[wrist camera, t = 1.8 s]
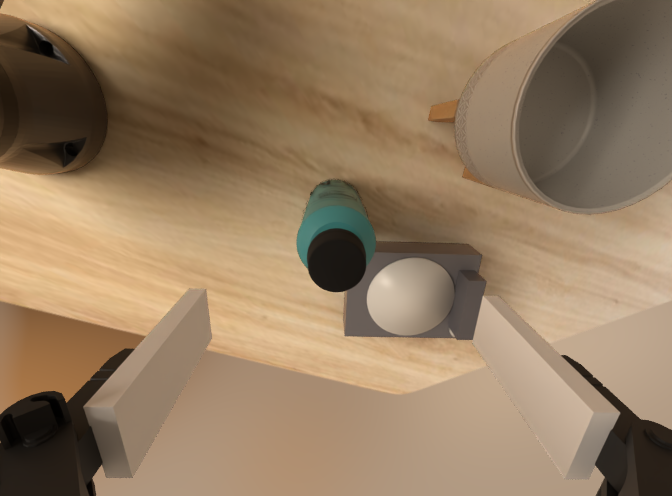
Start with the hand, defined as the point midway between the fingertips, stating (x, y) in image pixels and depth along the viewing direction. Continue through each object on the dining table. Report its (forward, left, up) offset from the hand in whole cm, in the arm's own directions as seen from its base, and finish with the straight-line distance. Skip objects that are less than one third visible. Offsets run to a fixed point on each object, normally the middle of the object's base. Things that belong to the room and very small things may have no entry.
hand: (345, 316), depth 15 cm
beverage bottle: (0, 0, -26) cm, 26 cm away
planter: (+17, +10, -26) cm, 32 cm away
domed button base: (+10, -11, -25) cm, 29 cm away
